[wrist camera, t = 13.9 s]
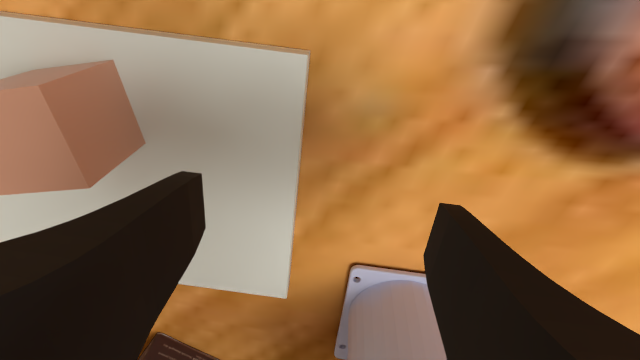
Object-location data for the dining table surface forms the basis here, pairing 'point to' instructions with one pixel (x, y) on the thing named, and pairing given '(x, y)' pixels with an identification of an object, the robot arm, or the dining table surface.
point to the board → (185, 139)
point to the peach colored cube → (64, 127)
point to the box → (171, 350)
